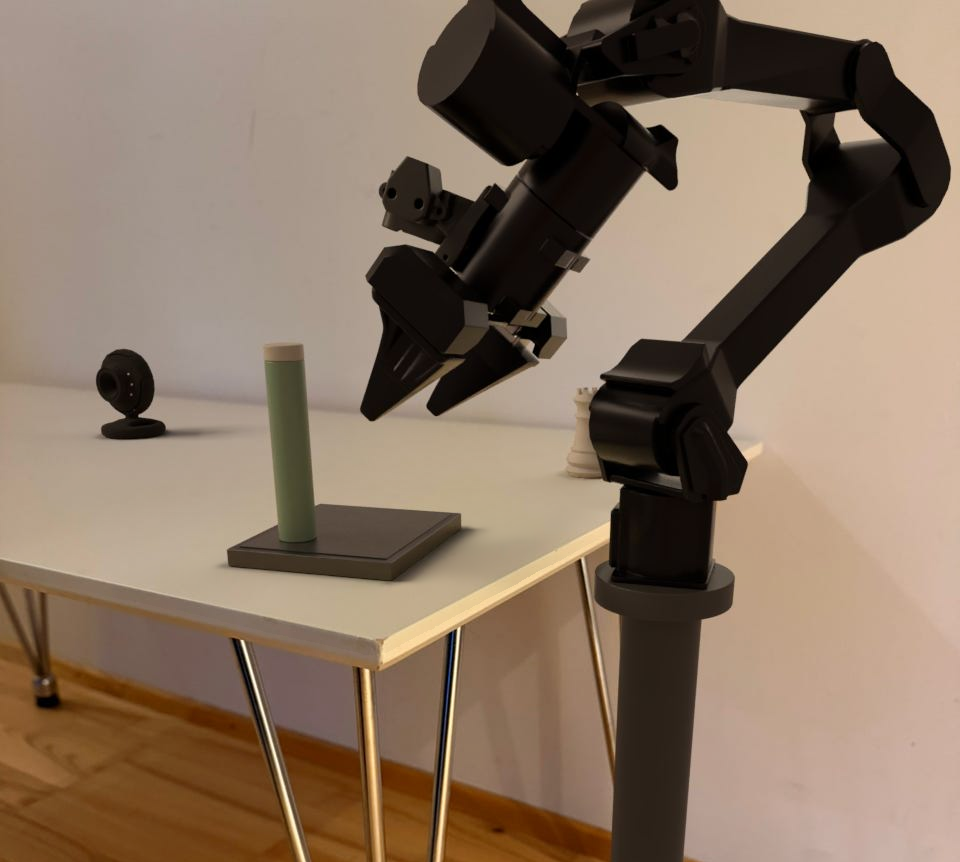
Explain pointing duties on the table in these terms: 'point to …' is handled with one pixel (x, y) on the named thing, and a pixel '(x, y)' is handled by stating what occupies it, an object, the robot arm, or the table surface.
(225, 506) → the table surface
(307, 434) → the green cylinder
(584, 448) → the rook chess piece
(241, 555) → the plate
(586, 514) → the table surface
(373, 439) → the table surface
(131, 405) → the webcam
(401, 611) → the table surface
